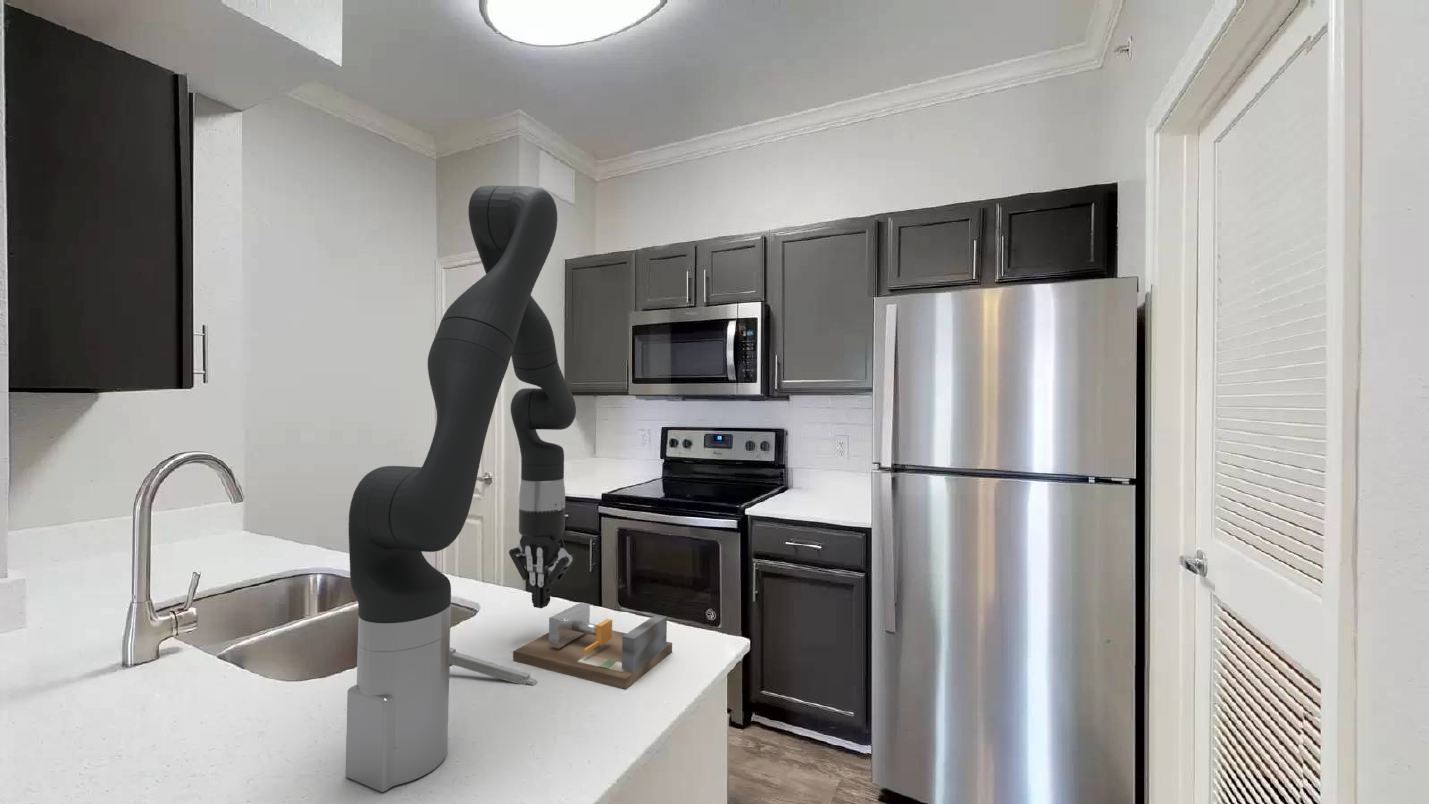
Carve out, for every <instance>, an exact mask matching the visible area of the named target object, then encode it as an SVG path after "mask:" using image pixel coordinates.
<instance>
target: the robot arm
mask: <svg viewBox="0 0 1429 804" xmlns="http://www.w3.org/2000/svg"><path fill="white" fill-rule="evenodd" d="M467 214H468V221H469V226H470V231H471V232H470V233H471V235H472V237H473V238H472V239H473V241H474V244H475V247H476V250H477V252H478V255H479V258H480V261H481V264H482V266H483V269H484V271H485V275H483V276H482V277H481V278H480V279H478V280H477V281H476V282H475V283H474V284H471V286H470V287H468V288H467V289H466V290H465V291H464V292H463V293H461V294H460V295H459V296H458V297H457V298H456V299H455V300H454V301H453V302H452V303H451V304H450V306H448V308H447V309H446V310H445V311H444V314H443V316H442V319H441V321H440V323H439V326H438V328H437V331H436V333H435V336H434V338H433V341H432V344H431V346H430V349H429V352H428V356H427V373H428V378H429V379H428V380H429V384H430V388H431V393H432V395H433V396H432V397H433V400H434V404H435V410H436V425H435V429H434V435H433V436H432V440H431V444H430V447H429V450H428V452H427V455H426V457H425V460H424V461H423V464H422V466H407V465H405V466H403V465H386V466H380V467H377V468H375V469H372V470H371V471H369V472H368V473H366V475H364V476H363V477H362V479H361V480H360V481H359V482H358V484H357V485H356V488H355V490H354V491H353V495H352V497H351V501H350V505H349V506H350V507H349V512H348V550H349V553H348V554H349V577H350V580H349V581H350V585H351V589H352V592H353V594H354V596H355V598H356V601H357V604H358V613H357V614H358V618H357V619H358V620H357V621H358V623H357V626H358V628H357V650H356V651H357V654H356V655H357V659H356V662H357V663H356V684H354V685H353V686H351V687H349V688H348V690H347V696H346V697H347V698H346V702H347V703H346V734H345V735H346V736H345V737H346V739H345V741H346V742H345V777H346V778H349V779H351V780H353V781H356V782H357V783H360V784H362V785H365V786H367V787H369V788H371V789H374V790H377V791H378V792H381V793H383V792H386V791H388V790H389V789H391V788H392V787H395V786H399V785H402V784H406V783H409V782H412V781H414V780H416V779H419V778H422V777H423V776H426V775H427V774H428V773H430V772H432V771H433V770H435V769H437V767H438V766H440V765H441V763H442V762H443V761H444V760H445V758H446V757H447V754H448V745H449V743H448V741H449V740H448V738H449V737H448V735H449V701H450V700H449V696H450V695H449V694H450V667H449V659H450V647H451V619H452V618H451V615H452V614H451V613H452V612H451V611H452V603H451V601H452V584H451V582H450V580H449V577H447V576H446V575H445V574H444V573H443V572H441V571H439V570H438V569H437V568H435V567H434V566H433V565H431V563H429V562H428V560H427V559H426V558H425V556H424V554H423V553H425V552H426V553H435V552H439V551H443V550H445V549H446V548H447V547H449V546H450V545H451V544H452V543H453V542H455V540H456V539H457V538H458V536H459V535H460V533H461V531H462V530H463V528H464V526H465V523H466V521H467V518H468V516H469V512H470V509H471V506H472V502H473V498H474V493H475V488H476V484H477V478H478V474H479V471H480V470H479V468H480V464H481V459H482V456H483V449H484V445H485V443H486V442H485V440H486V437H487V433H488V429H489V427H490V426H489V425H490V423H491V418H492V415H493V412H494V409H495V406H496V402H497V399H498V396H499V392H500V389H501V386H502V384H503V381H504V378H505V375H506V373H507V370H508V368H509V364H510V360H511V363H512V365H513V372H514V374H515V376H516V378H517V379H518V380H519V381H521V382H523V383H525V384H530V385H534V386H536V387H539V388H535V387H534V388H531V387H528V388H521V389H519V390H517V391H516V392H515V394H513V397H512V398H511V402H510V415H511V421H512V424H513V428H514V430H515V432H516V436H517V442H518V446H519V450H520V459H521V460H520V461H521V462H520V463H521V464H520V469H521V470H520V472H521V473H520V486H519V492H518V495H519V496H518V497H519V498H518V500H519V501H518V504H519V505H518V532H519V535H521V536H520V539H519V544H518V545H517V546H516V547H515V548H514V547H513V548H511V549H509V551H508V554H509V556H510V559H511V560H512V562H513V564H514V566H515V568H516V569H517V571H518V573H519V575H520V577H521V579H522V580H523V581H528V582H529V584H530V586H531V602H532V605H533V608H537V609H543V608H544V609H545V608H546V607H547V606H548V605H549V604H550V602H551V588H552V587H551V586H552V584H554V583H556V582H560V581H561V580H562V579H563V577H564V575H565V574H566V573H567V571H568V570H569V569H570V567H571V566H572V565H573V563H574V562H575V561H576V555H575V554H574V553H571V554H569V553H568V551H567V550H566V549H565V542H564V539H563V534H564V531H565V527H566V522H565V521H566V488H565V487H566V486H565V474H564V473H565V451H564V448H563V447H562V446H561V445H560V444H557V443H553V442H547V441H544V440H543V439H541V437H540V436H539V434H538V431H537V430H545V431H546V430H548V431H549V430H552V431H554V430H555V431H558V430H559V431H561V430H562V431H563V430H566V429H568V428H570V426H571V425H572V424H573V423H574V420H575V419H576V414H577V407H576V401H575V399H574V396H573V393H572V391H571V389H570V387H569V385H568V383H567V382H566V379H565V376H564V375H563V372H562V370H561V368H560V365H559V360H558V359H559V358H558V354H557V346H556V341H555V335H554V331H553V328H552V325H551V323H550V322H551V321H549V319H548V317H547V315H546V314H545V312H544V311H543V309H542V308H541V307H540V306H539V304H538V303H537V301H536V300H535V299H534V297H533V296H532V292H533V290H534V288H535V285H536V283H537V280H538V278H539V277H540V274H541V271H542V270H543V268H544V265H545V263H546V262H547V260H548V256H549V254H550V252H551V249H552V247H553V244H554V241H555V238H556V233H557V229H558V210H557V204H556V202H555V199H554V197H553V196H552V195H551V194H550V193H549V192H548V191H547V190H546V189H543V188H539V187H534V186H528V185H527V186H525V185H523V186H522V185H492V184H491V185H482V186H479V187H477V188H476V189H475V190H474V191H473V192H472V194H471V196H470V198H469V203H468V213H467Z"/></svg>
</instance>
